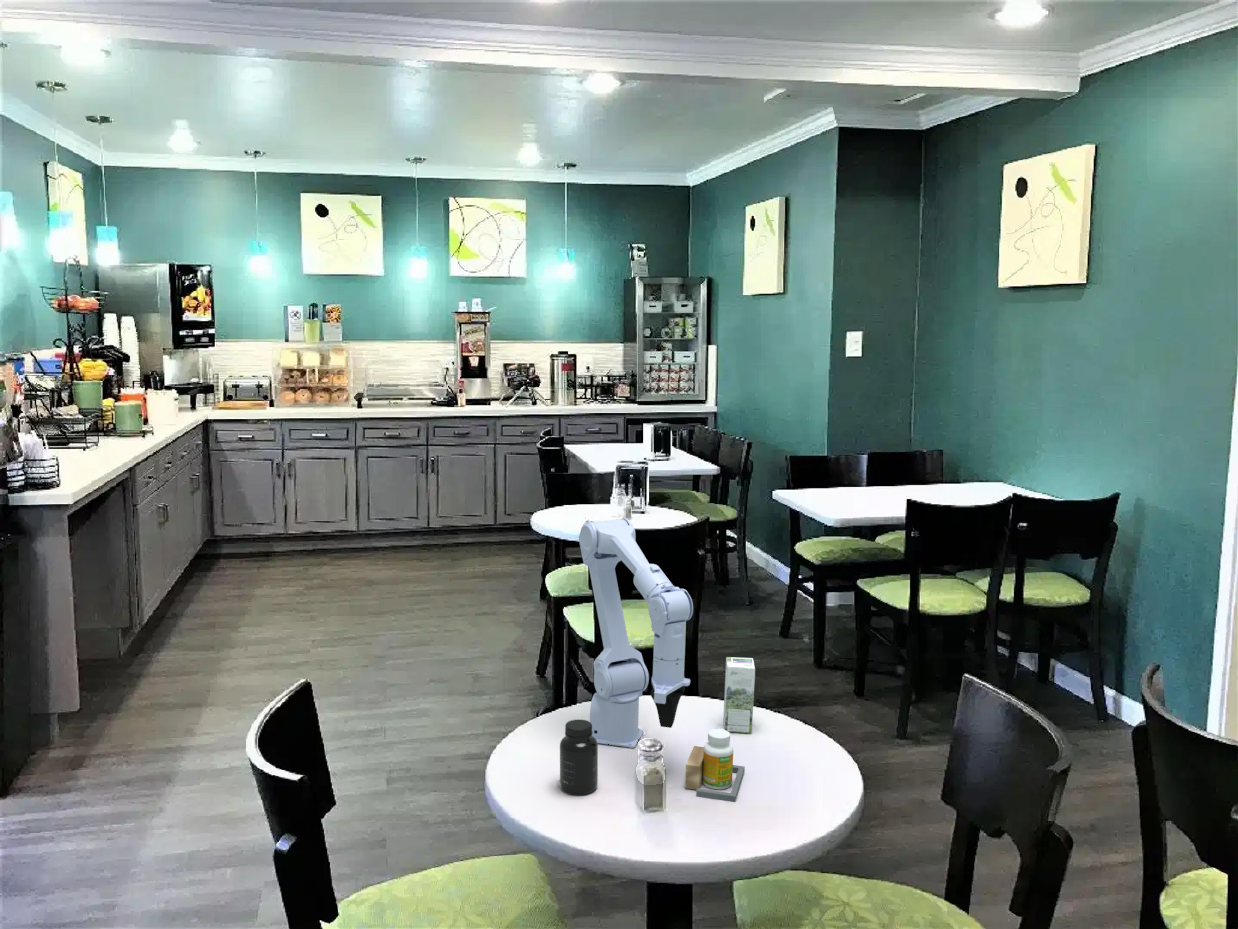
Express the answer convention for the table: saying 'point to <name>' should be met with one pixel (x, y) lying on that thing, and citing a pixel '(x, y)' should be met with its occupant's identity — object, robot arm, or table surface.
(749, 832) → the table surface
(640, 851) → the table surface
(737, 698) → the syrup box
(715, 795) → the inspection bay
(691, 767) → the bar
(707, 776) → the supplement bottle
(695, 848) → the table surface
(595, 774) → the supplement bottle
